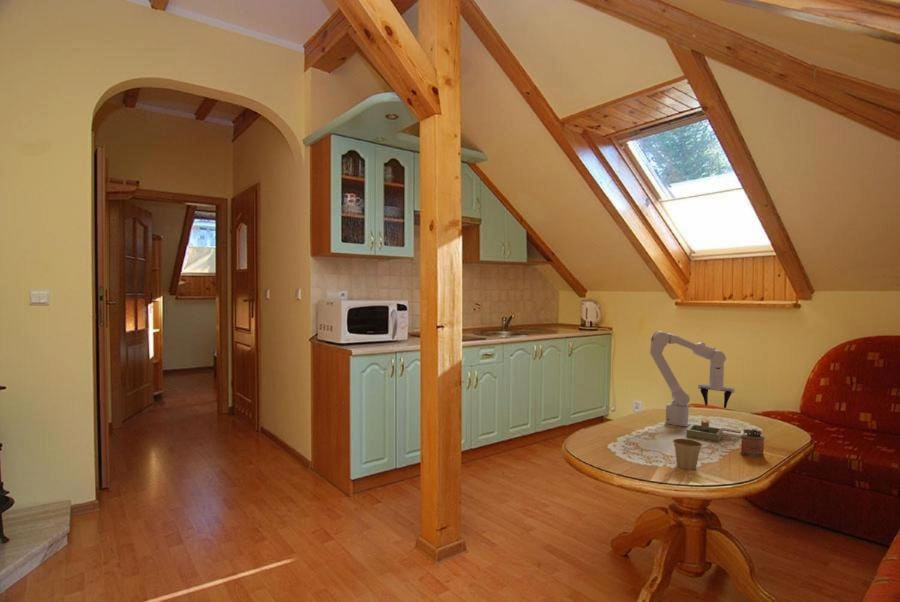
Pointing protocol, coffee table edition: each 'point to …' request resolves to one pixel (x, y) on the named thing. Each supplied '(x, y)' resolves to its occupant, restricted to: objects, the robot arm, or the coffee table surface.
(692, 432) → the bin
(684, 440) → the flower pot
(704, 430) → the cylinder
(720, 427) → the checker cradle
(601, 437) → the coffee table surface
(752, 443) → the lighter
